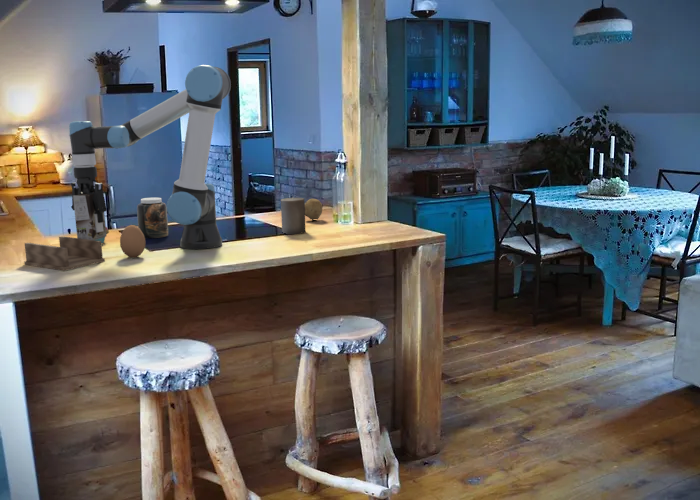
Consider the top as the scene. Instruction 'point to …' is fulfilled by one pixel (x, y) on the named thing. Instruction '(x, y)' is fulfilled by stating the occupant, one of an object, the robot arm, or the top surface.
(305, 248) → the top surface
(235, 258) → the top surface
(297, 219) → the pillar candle
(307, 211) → the natural sponge
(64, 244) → the walnut rack
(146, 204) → the jar
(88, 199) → the coffee box
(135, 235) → the egg
